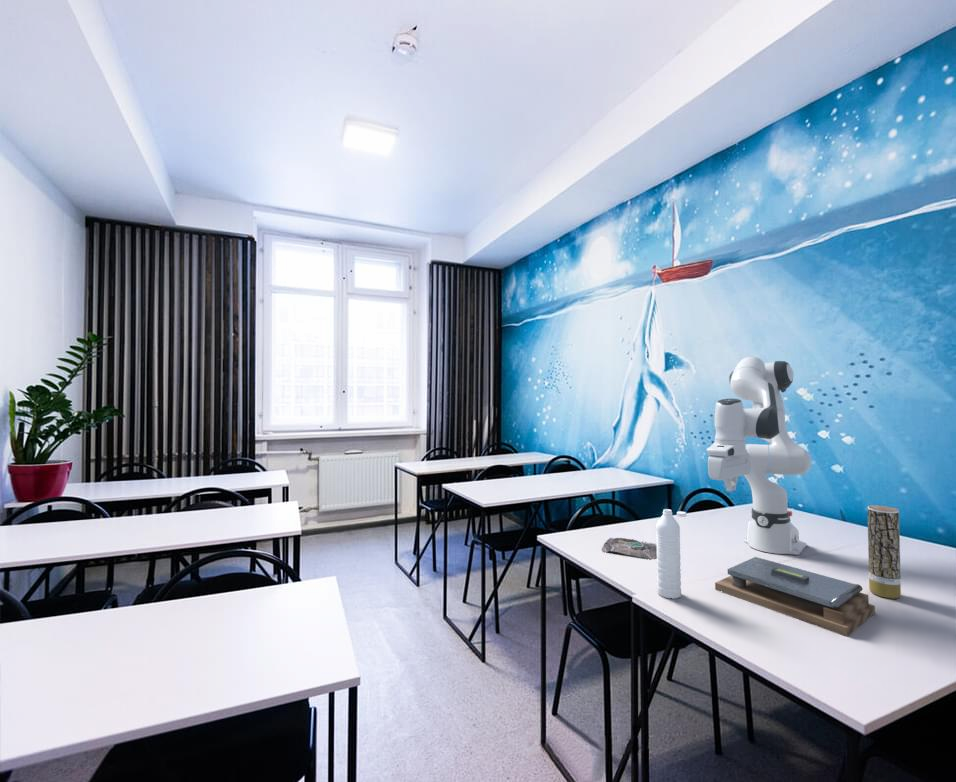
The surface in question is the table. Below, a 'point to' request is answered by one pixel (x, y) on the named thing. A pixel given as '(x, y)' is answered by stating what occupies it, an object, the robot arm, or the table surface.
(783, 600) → the leveling base
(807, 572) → the plate
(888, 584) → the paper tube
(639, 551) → the terrain model
